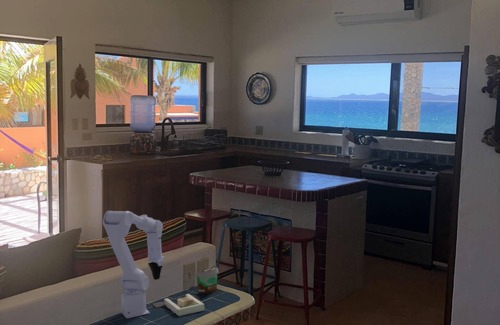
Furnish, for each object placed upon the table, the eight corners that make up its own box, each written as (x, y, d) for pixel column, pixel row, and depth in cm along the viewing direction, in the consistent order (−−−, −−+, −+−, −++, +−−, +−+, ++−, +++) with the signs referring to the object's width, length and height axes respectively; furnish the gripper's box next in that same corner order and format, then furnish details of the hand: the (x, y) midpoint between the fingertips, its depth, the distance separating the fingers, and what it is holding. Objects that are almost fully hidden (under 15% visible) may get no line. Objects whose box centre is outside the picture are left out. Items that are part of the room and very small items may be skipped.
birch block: (182, 311, 215) (182, 302, 215) (178, 308, 219) (177, 298, 219) (194, 309, 217) (193, 299, 217) (189, 305, 222) (188, 296, 221)
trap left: (156, 308, 221) (156, 307, 221) (152, 304, 225) (151, 303, 225) (166, 305, 223) (166, 305, 223) (162, 302, 228) (162, 301, 228)
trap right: (190, 300, 228) (190, 300, 228) (185, 297, 232) (185, 296, 232) (200, 298, 230) (199, 297, 230) (195, 295, 235) (195, 294, 235)
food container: (207, 296, 233) (205, 273, 232) (196, 293, 237) (195, 271, 236) (225, 288, 243) (224, 266, 242) (215, 286, 246) (213, 264, 246)
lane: (178, 316, 210) (178, 309, 209) (164, 304, 224) (164, 298, 224) (204, 310, 215) (204, 304, 215) (189, 299, 229) (188, 293, 229)
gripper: (169, 249, 224) (171, 281, 225) (158, 243, 237) (160, 273, 238) (153, 252, 221) (155, 284, 222) (142, 245, 233) (144, 276, 234)
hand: (156, 279), depth 229 cm, fingers closed
